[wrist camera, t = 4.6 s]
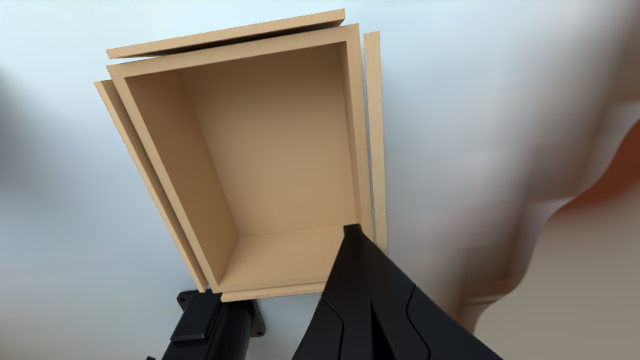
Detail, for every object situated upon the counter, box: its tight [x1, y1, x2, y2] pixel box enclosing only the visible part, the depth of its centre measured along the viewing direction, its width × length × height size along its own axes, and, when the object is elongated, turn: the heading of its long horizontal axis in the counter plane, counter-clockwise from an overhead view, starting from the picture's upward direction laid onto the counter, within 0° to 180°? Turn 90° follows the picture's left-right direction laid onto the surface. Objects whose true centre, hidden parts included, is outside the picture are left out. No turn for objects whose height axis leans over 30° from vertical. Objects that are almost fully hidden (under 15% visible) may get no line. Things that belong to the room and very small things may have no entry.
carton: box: [94, 9, 374, 302], centre depth 15 cm, size 14×11×5 cm
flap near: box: [364, 31, 388, 257], centre depth 10 cm, size 12×5×1 cm
